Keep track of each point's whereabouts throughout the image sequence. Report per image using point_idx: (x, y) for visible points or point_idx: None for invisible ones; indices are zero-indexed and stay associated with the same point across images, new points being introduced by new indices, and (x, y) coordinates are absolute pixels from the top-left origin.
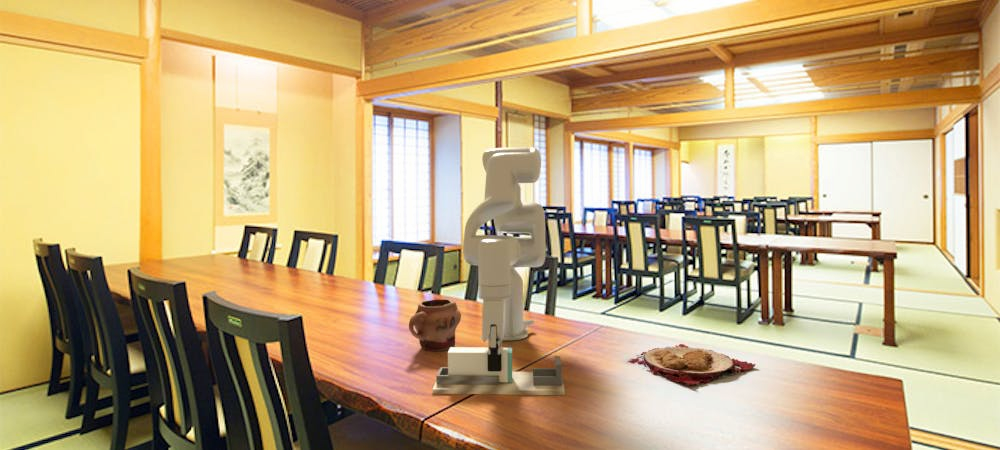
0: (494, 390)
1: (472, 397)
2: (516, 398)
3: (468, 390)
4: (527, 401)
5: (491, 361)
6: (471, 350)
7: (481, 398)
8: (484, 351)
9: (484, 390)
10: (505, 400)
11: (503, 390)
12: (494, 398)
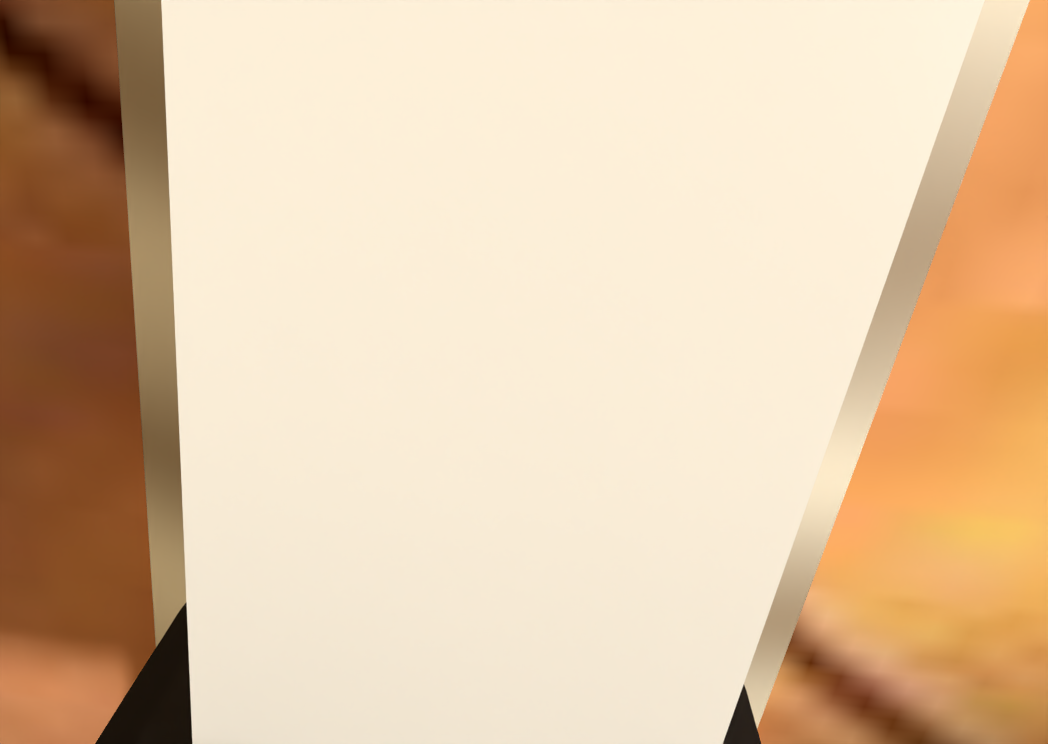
0: (145, 449)
1: (43, 143)
2: (81, 617)
3: (124, 94)
4: (21, 691)
5: (127, 700)
6: (449, 384)
7: (27, 262)
8: (310, 737)
9: (137, 329)
10: (11, 515)
11: (150, 545)
12: (50, 412)
